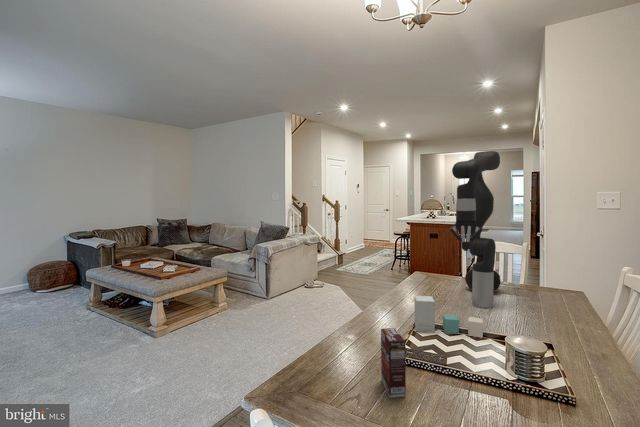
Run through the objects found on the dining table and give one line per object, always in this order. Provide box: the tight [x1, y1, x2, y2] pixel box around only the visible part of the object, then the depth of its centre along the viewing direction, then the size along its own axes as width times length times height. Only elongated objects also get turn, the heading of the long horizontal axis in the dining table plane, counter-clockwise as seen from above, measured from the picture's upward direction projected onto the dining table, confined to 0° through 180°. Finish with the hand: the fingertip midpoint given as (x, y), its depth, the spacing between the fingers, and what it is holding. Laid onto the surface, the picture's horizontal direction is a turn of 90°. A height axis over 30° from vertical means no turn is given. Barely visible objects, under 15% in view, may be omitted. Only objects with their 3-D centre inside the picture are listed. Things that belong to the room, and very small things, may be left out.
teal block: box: [442, 314, 460, 335], centre depth 130 cm, size 5×5×6 cm
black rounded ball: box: [464, 256, 502, 293], centre depth 183 cm, size 18×18×28 cm
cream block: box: [467, 316, 484, 337], centre depth 127 cm, size 5×5×6 cm
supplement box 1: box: [380, 327, 407, 399], centre depth 92 cm, size 9×5×16 cm, turn 5°
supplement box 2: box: [414, 295, 436, 334], centre depth 133 cm, size 7×7×13 cm
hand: (465, 250), depth 137 cm, fingers closed
